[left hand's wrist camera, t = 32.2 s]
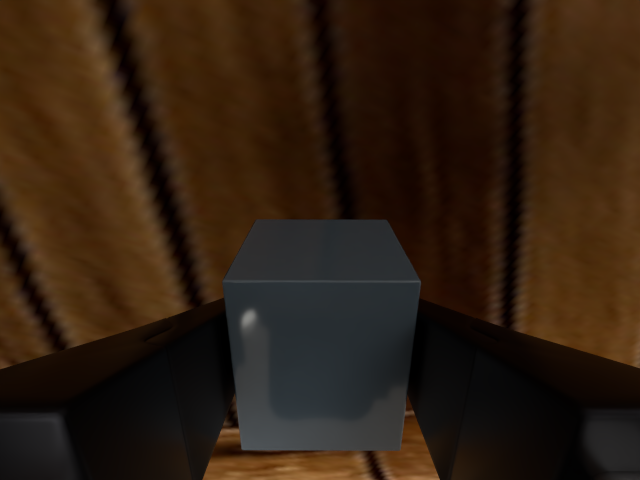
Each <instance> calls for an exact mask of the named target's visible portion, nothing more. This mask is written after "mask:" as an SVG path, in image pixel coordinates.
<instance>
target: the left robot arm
mask: <svg viewBox="0 0 640 480" xmlns="http://www.w3.org/2000/svg"><path fill="white" fill-rule="evenodd" d="M234 394H235V387H234V379H233V370H232V362H231V353H230V344H229V336H228V327H227V318H226V310H225V301H224V298H222V299H219V300H216V301H214V302H211V303H208V304H205V305H202V306H200V307H197V308H194V309H191V310H188V311H186V312H183V313H180V314H177V315H174V316H172V317H169V318H165V319H162V320H159V321H156V322H153V323H150V324H147V325H144V326H141V327H138V328H135V329H132V330H129V331H126V332H122V333H119V334H116V335H113V336H109V337H106V338H103V339H99V340H96V341H93V342H89V343H86V344H83V345H79V346H76V347H73V348H70V349H66V350H63V351H60V352H56V353H53V354H50V355H46V356H43V357H40V358H36V359H33V360H30V361H26V362H23V363H20V364H17V365H13V366H10V367H7V368H3V369H0V480H202V479H203V476H204V474H205V471H206V468H207V466H208V463H209V460H210V458H211V455H212V453H213V450H214V447H215V445H216V442H217V439H218V437H219V434H220V431H221V429H222V426H223V423H224V421H225V418H226V415H227V413H228V410H229V407H230V405H231V402H232V399H233V397H234ZM407 395H408V397H409V400H410V402H411V405H412V408H413V410H414V413H415V415H416V418H417V421H418V423H419V426H420V429H421V431H422V434H423V436H424V439H425V442H426V444H427V447H428V450H429V452H430V455H431V457H432V460H433V463H434V465H435V468H436V471H437V473H438V476H439V478H440V480H640V368H637V367H633V366H630V365H627V364H623V363H620V362H617V361H613V360H610V359H607V358H603V357H600V356H597V355H593V354H590V353H587V352H583V351H580V350H577V349H573V348H570V347H567V346H563V345H560V344H557V343H553V342H550V341H547V340H543V339H540V338H537V337H533V336H530V335H527V334H523V333H520V332H517V331H514V330H510V329H507V328H504V327H501V326H498V325H495V324H492V323H489V322H486V321H483V320H480V319H478V318H476V319H475V318H473V317H471V316H468V315H465V314H462V313H459V312H456V311H454V310H451V309H448V308H445V307H442V306H440V305H437V304H434V303H431V302H428V301H425V300H423V299H420V298H419V303H418V311H417V319H416V327H415V335H414V344H413V352H412V360H411V368H410V376H409V384H408V393H407Z"/></svg>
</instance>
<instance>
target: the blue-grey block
mask: <svg viewBox="0 0 640 480" xmlns="http://www.w3.org/2000/svg"><path fill="white" fill-rule="evenodd" d="M222 284H223V293H224V301H225V310H226V318H227V327H228V336H229V344H230V353H231V362H232V370H233V379H234V387H235V396H236V405H237V413H238V422H239V430H240V439H241V448H242V450H379V451H399V450H400V449H401V442H402V433H403V425H404V417H405V409H406V401H407V393H408V384H409V376H410V368H411V360H412V352H413V344H414V335H415V327H416V319H417V311H418V303H419V294H420V286H421V281H420V279H419V277H418V275H417V273H416V272H415V270H414V268H413V266H412V264H411V262H410V261H409V259H408V257H407V255H406V253H405V251H404V250H403V248H402V246H401V244H400V242H399V240H398V239H397V237H396V235H395V233H394V231H393V229H392V228H391V226H390V224H389V222H388V220H255V222H254V224H253V226H252V227H251V229H250V231H249V233H248V235H247V237H246V238H245V240H244V242H243V244H242V246H241V248H240V249H239V251H238V253H237V255H236V257H235V259H234V260H233V262H232V264H231V266H230V268H229V270H228V271H227V273H226V275H225V277H224V279H223V281H222Z"/></svg>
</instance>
